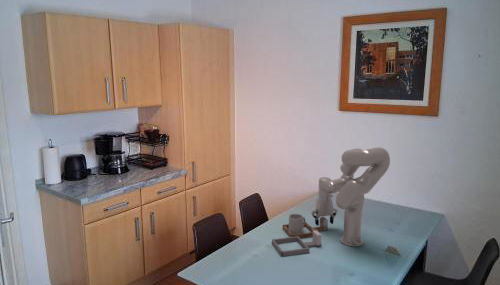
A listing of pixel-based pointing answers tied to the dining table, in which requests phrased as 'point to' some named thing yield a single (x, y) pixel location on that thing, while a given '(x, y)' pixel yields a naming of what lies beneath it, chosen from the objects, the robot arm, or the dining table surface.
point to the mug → (296, 223)
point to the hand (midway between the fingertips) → (324, 224)
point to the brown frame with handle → (322, 227)
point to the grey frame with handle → (315, 242)
